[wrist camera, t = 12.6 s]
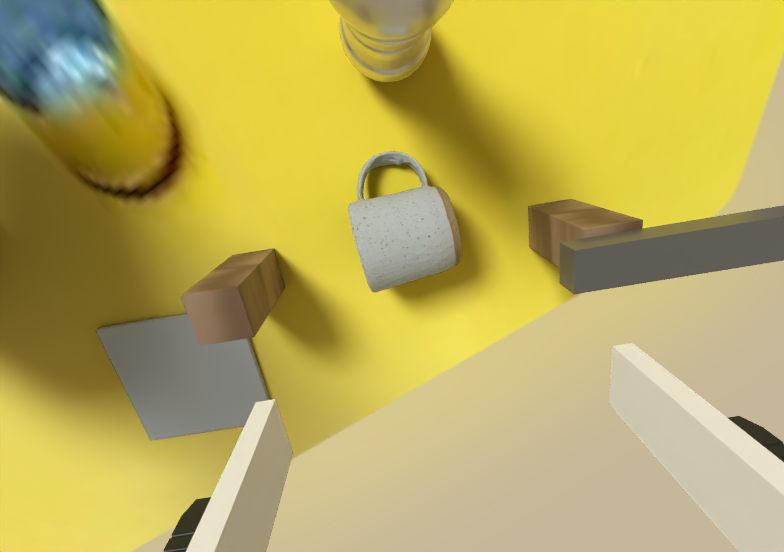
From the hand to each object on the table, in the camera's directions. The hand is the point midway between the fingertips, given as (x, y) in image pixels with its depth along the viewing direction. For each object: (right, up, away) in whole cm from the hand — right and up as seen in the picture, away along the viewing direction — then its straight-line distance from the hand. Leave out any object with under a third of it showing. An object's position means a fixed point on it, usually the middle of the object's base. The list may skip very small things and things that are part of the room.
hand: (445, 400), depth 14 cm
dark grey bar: (+20, +8, +11) cm, 24 cm away
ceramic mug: (-2, +11, +20) cm, 22 cm away
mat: (-23, -6, +24) cm, 34 cm away
